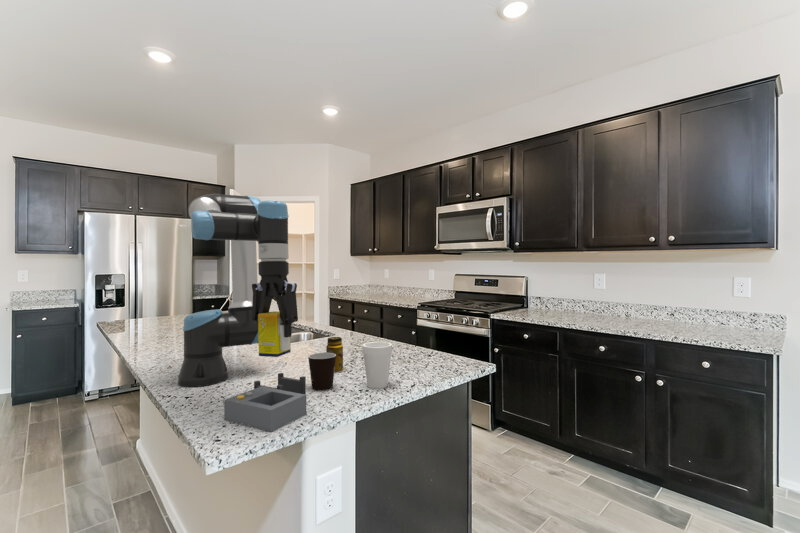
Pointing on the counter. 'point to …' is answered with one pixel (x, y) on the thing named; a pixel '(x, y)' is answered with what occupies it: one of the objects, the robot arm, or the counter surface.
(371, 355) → the foam cup
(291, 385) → the dark grey rack
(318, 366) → the coffee mug
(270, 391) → the port
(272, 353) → the supplement box
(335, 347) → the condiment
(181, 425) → the counter surface
